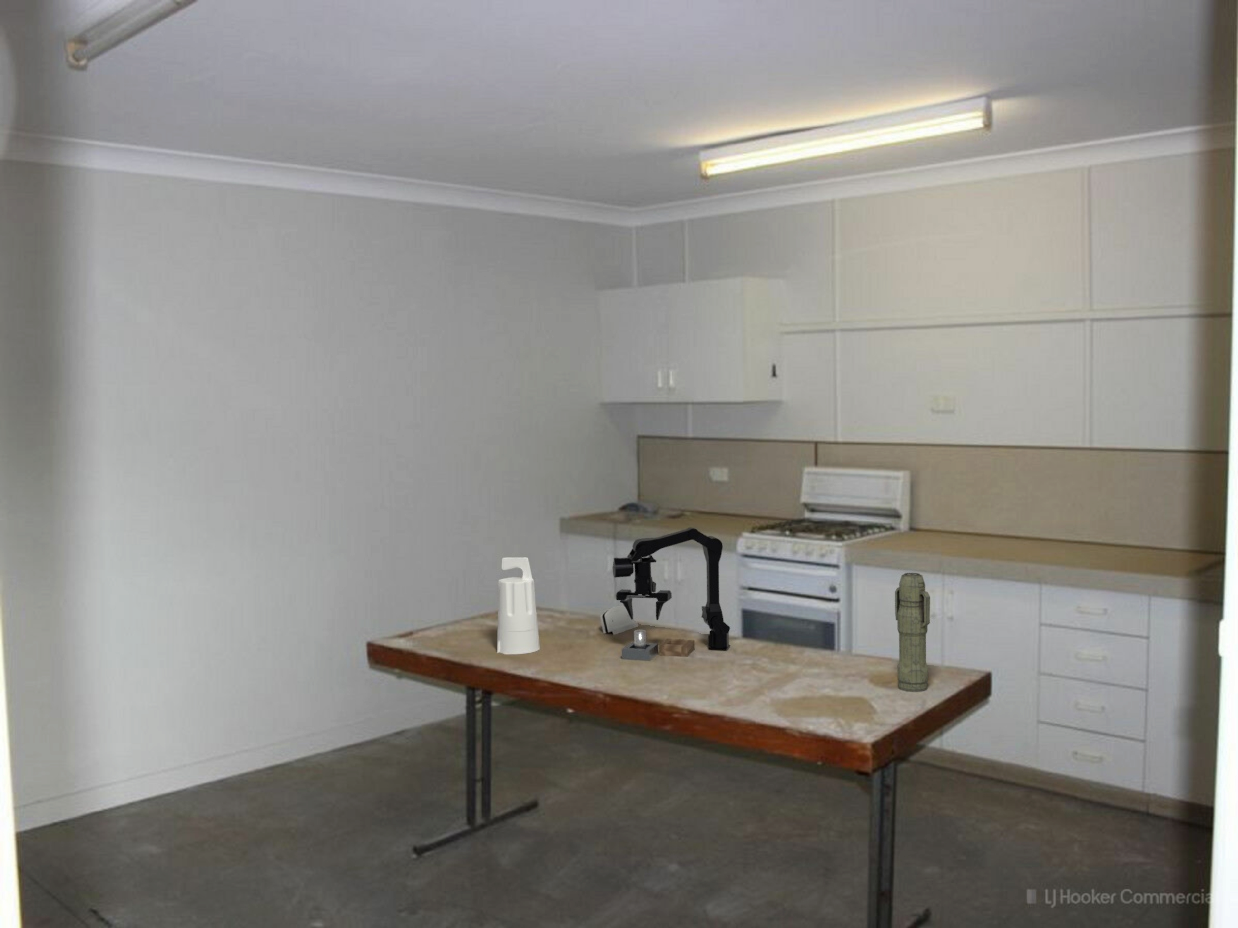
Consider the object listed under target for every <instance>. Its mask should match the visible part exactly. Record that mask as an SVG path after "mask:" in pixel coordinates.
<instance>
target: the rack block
mask: <svg viewBox="0 0 1238 928" xmlns="http://www.w3.org/2000/svg"><path fill="white" fill-rule="evenodd" d="M657 655H659V644H658V643H655V642H654V643H652V642H651V643H650V642H646V649H638V648H634V641H633V642H632V641H630V642H629V643H628V644H626V645H625V646H624V647H622V648H621V660H631V661H632V660H634V661H645V662H646V661H649V662H650V661H651V660H653V658H655V657H657Z"/></svg>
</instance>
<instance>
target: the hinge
mask: <svg viewBox="0 0 1238 928" xmlns="http://www.w3.org/2000/svg"><path fill="white" fill-rule="evenodd" d="M599 619H600V623H601V628H602V632H603V634H607V633H611V632H612V634H613V636H615V635H618V634H620V633H623V632H627V631H630V630H632V629H636V628H638V627H639V624H638V621H636V620H635V619H634V618H633V619H632V620H631V618H630V616H629V614H628V611H627V609H626V608H625V606H624V605H618V606H617V605H616V606H613V607H610V608H608V609H605V611H604V612H602V613H601V615H599Z"/></svg>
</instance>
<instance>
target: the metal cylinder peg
mask: <svg viewBox="0 0 1238 928" xmlns="http://www.w3.org/2000/svg"><path fill="white" fill-rule="evenodd" d="M646 633H647V632H646V630H645V629H639V628H638V629H635V630H634V631H633V642H634V648H638V649H646V643H647V638H646V637H647V635H646Z"/></svg>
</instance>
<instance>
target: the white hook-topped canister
mask: <svg viewBox="0 0 1238 928" xmlns="http://www.w3.org/2000/svg"><path fill="white" fill-rule="evenodd" d="M511 569H521V572H522V576H510V577H505V578H501V579H498V585H497V586H498V588H497V589H498V591H497V592H498V593H497V595H498V603H497V604H498V605H497V607H498V611H497V629H496V630H497V631H496V632H497V636H496V637H497V640H496V641H497V643H496V644H497V647H496V651H497V652H496V654H498V653H500V654H504V655H505V656H506V655H513V656H514V655H524V654H531V653H534V652H537V651H539V650H541V647H540V637H539V635H540V634H539V626H538V625H539V624H538V613H537V600H536V589H535V579H533V573H532V570H531V564H530V560H529V558H528V557H527V556H526V557H515V556H514V557H513V556H512V557H511V556H509V557H502V558H501V570H503V571H507V570H511Z"/></svg>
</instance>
